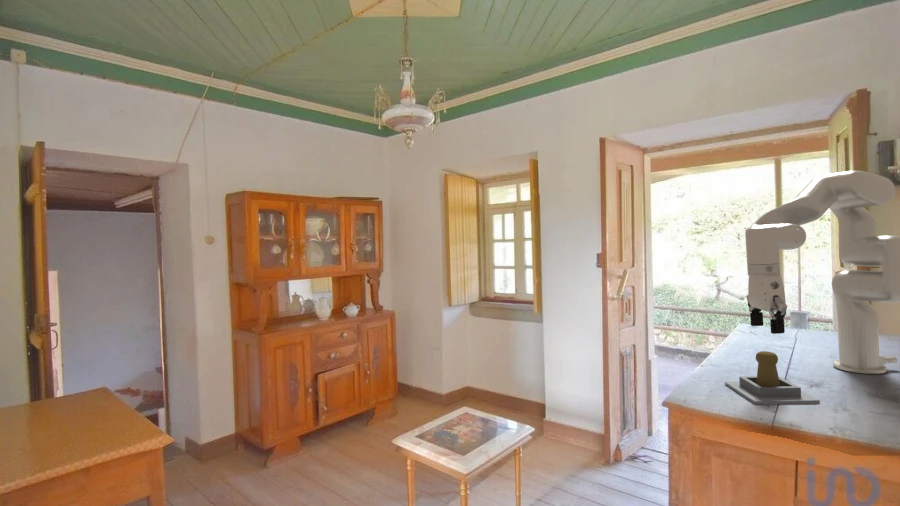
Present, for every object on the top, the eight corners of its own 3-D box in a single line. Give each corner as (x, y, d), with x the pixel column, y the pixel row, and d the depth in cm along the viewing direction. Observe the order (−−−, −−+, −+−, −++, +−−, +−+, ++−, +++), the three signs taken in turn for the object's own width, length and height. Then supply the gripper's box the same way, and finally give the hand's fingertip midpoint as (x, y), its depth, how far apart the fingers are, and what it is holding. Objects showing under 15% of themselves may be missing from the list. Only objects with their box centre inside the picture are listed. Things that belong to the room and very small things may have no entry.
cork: (750, 387, 128) (748, 350, 127) (769, 385, 128) (767, 348, 128) (766, 394, 122) (764, 355, 121) (787, 392, 122) (785, 353, 122)
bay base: (781, 383, 131) (781, 372, 131) (819, 403, 116) (819, 390, 115) (725, 384, 133) (724, 373, 133) (755, 404, 118) (754, 392, 117)
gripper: (798, 271, 115) (802, 335, 115) (759, 266, 132) (763, 322, 132) (767, 273, 115) (771, 337, 116) (733, 268, 133) (736, 324, 133)
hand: (767, 329), depth 124 cm, fingers open, 9 cm apart
